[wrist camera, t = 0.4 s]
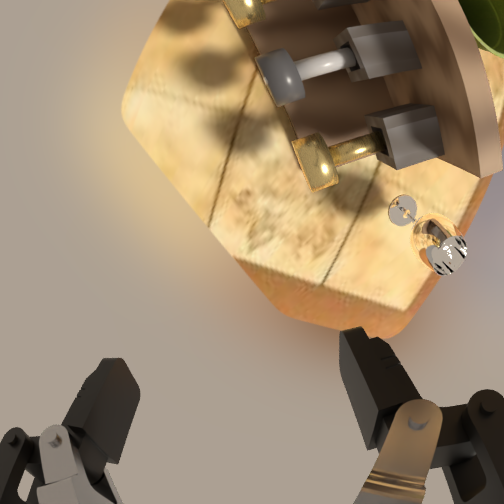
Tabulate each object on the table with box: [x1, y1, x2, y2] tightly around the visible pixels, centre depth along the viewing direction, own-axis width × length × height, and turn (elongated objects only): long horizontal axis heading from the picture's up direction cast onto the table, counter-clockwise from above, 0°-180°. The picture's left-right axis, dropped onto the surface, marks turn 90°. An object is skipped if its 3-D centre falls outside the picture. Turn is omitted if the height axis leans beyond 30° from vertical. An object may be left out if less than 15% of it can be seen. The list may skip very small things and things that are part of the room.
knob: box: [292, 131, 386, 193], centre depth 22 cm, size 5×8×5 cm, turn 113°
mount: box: [246, 0, 503, 178], centre depth 18 cm, size 22×15×16 cm
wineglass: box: [389, 195, 467, 276], centre depth 28 cm, size 6×6×12 cm
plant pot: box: [458, 0, 504, 58], centre depth 15 cm, size 12×12×11 cm
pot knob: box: [255, 48, 356, 107], centre depth 19 cm, size 5×8×5 cm, turn 113°
